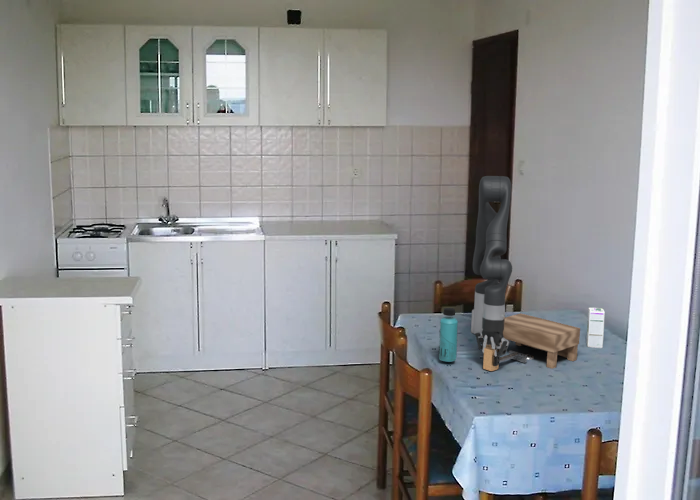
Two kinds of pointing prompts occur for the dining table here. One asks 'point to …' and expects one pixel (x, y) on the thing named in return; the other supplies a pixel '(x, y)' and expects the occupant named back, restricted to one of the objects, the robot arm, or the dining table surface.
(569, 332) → the small wooden stool
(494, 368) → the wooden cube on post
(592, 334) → the syrup box
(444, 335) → the beverage bottle
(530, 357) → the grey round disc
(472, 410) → the dining table surface
